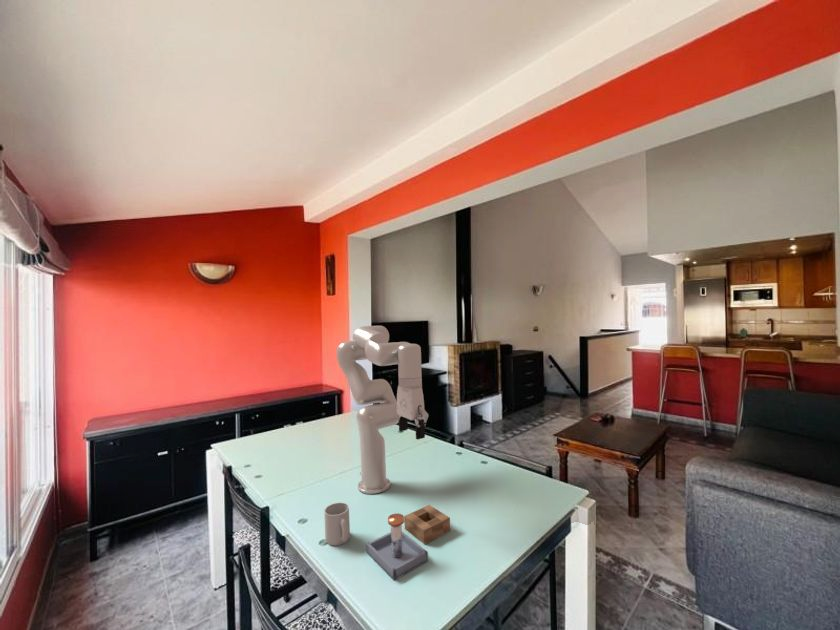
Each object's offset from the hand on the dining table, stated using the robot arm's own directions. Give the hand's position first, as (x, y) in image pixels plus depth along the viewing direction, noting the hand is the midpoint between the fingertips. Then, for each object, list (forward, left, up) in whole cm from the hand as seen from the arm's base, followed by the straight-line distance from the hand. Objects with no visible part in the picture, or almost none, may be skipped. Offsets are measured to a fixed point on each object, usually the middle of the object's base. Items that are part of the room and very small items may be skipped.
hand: (411, 434), depth 116 cm
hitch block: (+8, -1, -27) cm, 28 cm away
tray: (+12, -15, -27) cm, 33 cm away
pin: (+12, -15, -27) cm, 33 cm away
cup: (-5, -24, -28) cm, 37 cm away
